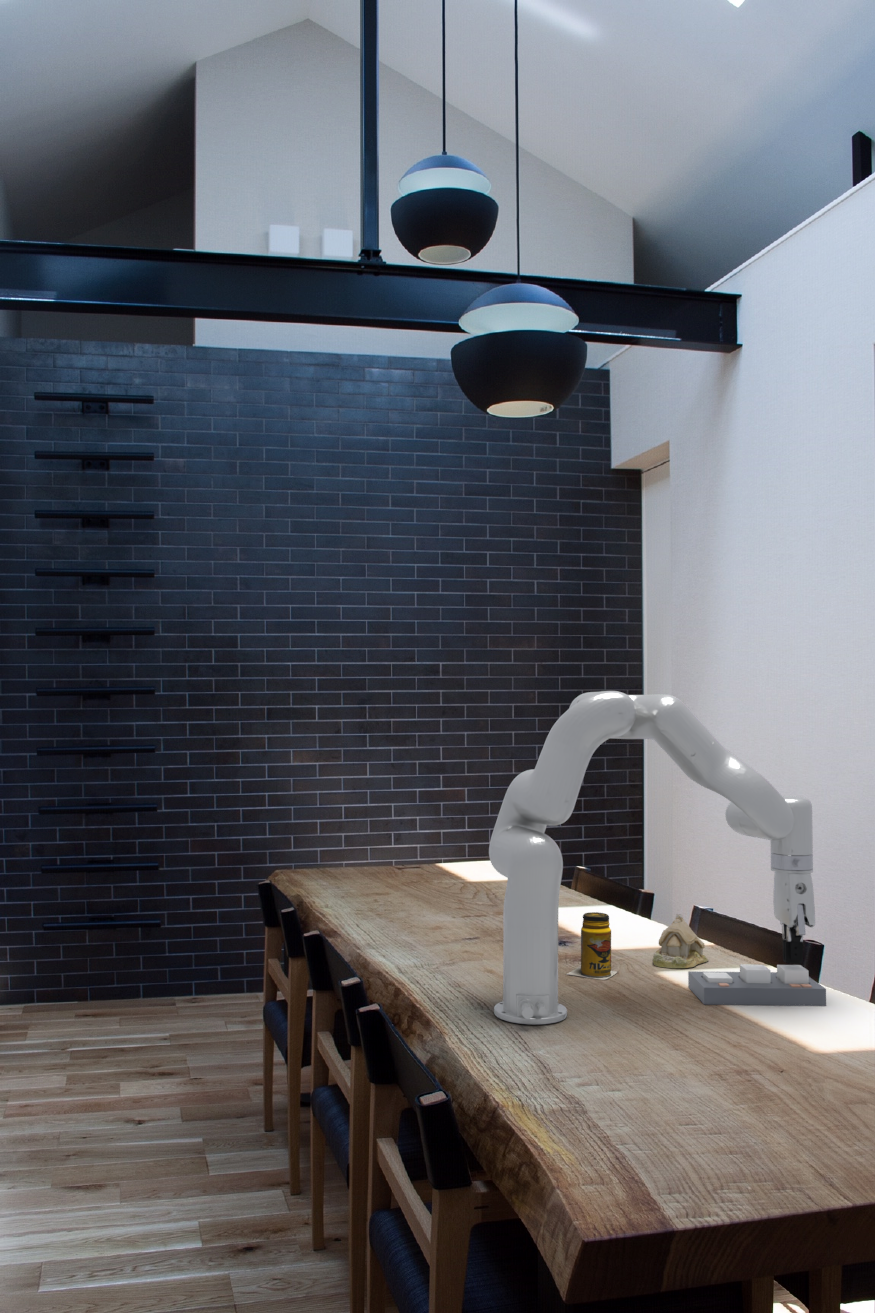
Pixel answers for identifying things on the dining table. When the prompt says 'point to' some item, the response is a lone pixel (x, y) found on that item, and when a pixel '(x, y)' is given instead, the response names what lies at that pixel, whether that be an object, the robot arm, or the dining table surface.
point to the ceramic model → (679, 947)
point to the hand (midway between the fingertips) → (792, 962)
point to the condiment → (595, 947)
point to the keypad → (756, 991)
